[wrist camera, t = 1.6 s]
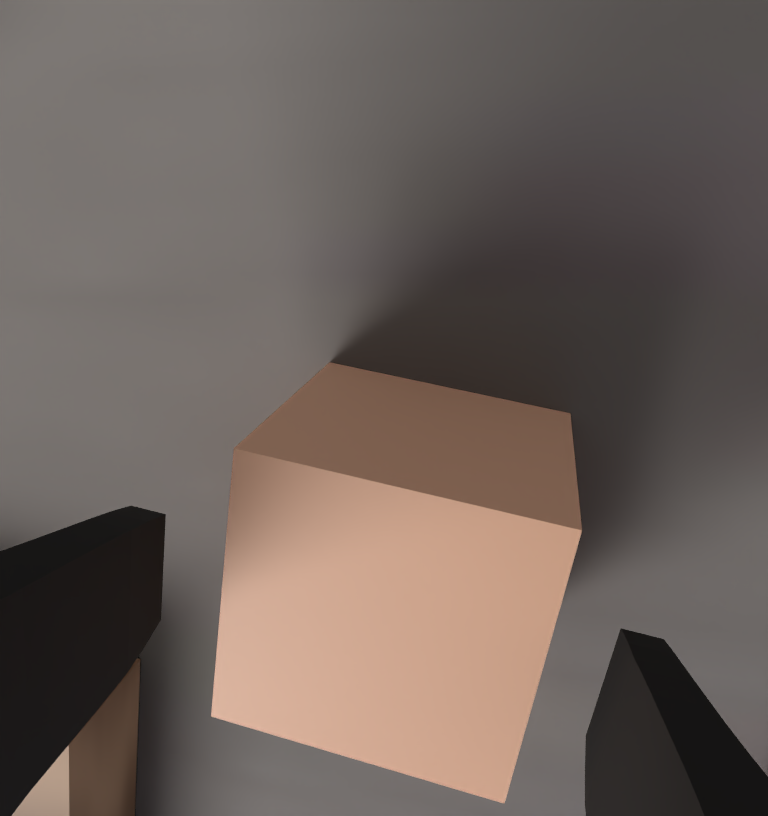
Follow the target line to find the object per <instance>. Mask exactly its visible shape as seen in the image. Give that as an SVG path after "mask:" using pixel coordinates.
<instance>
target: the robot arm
mask: <svg viewBox="0 0 768 816" xmlns="http://www.w3.org/2000/svg"><path fill="white" fill-rule="evenodd" d="M165 516H166V514H162V513H158V512H154V511H150V510H146V509H142V508H138V507H134V506H129V507H125V508H121V509H118V510H115V511H111V512H108V513H105V514H102V515H100V516H97V517H94V518H91V519H88V520H86V521H83V522H80V523H77V524H75V525H72V526H69V527H67V528H64V529H61V530H58V531H56V532H53V533H50V534H47V535H45V536H42V537H39V538H36V539H34V540H31V541H28V542H25V543H23V544H20V545H17V546H14V547H12V548H9V549H6V550H3V551H0V816H12V814H13V813H14V812H15V810H16V809H17V808H18V807H19V805H20V804H21V803H22V801H23V800H24V799H25V797H26V796H27V795H28V794H29V792H30V791H31V790H32V789H33V787H34V786H35V785H36V784H37V783H38V781H39V780H40V779H41V778H42V776H43V775H44V774H45V773H46V772H47V770H48V769H49V768H50V767H51V766H52V764H53V763H54V762H55V761H56V760H57V758H58V757H59V756H60V755H61V754H62V752H63V751H64V750H65V749H66V748H67V746H68V745H69V744H70V743H71V741H72V740H73V739H74V738H75V737H76V735H77V734H78V733H79V732H80V731H81V729H82V728H83V727H84V726H85V725H86V723H87V722H88V721H89V720H90V719H91V717H92V716H93V715H94V714H95V713H96V711H97V710H98V709H99V708H100V706H101V705H102V704H103V703H104V701H105V700H106V699H107V698H108V697H109V695H110V694H111V693H112V692H113V690H114V689H115V688H116V687H117V685H118V684H119V683H120V682H121V680H122V679H123V678H124V677H125V675H126V674H127V673H128V671H129V670H130V668H131V667H132V665H133V664H134V662H135V661H136V659H137V657H138V656H139V654H140V653H141V651H142V650H143V648H144V647H145V645H146V643H147V642H148V640H149V638H150V637H151V635H152V633H153V632H154V630H155V628H156V627H157V625H158V623H159V622H160V620H161V603H162V581H163V560H164V538H165ZM585 808H586V816H768V777H767V775H766V774H765V773H764V772H763V770H762V769H761V768H760V767H759V765H758V764H757V763H756V762H755V760H754V759H753V758H752V757H751V755H750V754H749V753H748V752H747V750H746V749H745V748H744V747H743V745H742V744H741V743H740V741H739V740H738V739H737V737H736V736H735V735H734V734H733V732H732V731H731V730H730V728H729V727H728V726H727V724H726V723H725V722H724V720H723V719H722V718H721V716H720V715H719V714H718V712H717V711H716V710H715V708H714V707H713V706H712V704H711V703H710V702H709V700H708V699H707V697H706V696H705V695H704V693H703V692H702V691H701V689H700V688H699V686H698V685H697V684H696V682H695V681H694V680H693V678H692V677H691V675H690V674H689V673H688V671H687V670H686V668H685V667H684V666H683V664H682V663H681V662H680V660H679V659H678V657H677V656H676V655H675V653H674V652H673V651H672V649H671V648H670V647H669V645H668V644H667V643H666V642H665V640H664V639H661V638H657V637H653V636H649V635H645V634H641V633H637V632H633V631H629V630H625V629H621V630H620V633H619V636H618V639H617V642H616V645H615V648H614V651H613V654H612V657H611V660H610V663H609V667H608V670H607V673H606V676H605V679H604V682H603V685H602V688H601V691H600V694H599V697H598V700H597V703H596V707H595V710H594V713H593V716H592V719H591V722H590V725H589V728H588V731H587V734H586V756H585Z"/></svg>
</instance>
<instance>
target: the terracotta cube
mask: <svg viewBox="0 0 768 816" xmlns="http://www.w3.org/2000/svg"><path fill="white" fill-rule="evenodd" d="M581 533H582V524H581V514H580V504H579V494H578V484H577V474H576V464H575V454H574V444H573V434H572V424H571V414H570V413H566V412H562V411H557V410H552V409H547V408H543V407H538V406H533V405H529V404H524V403H519V402H514V401H510V400H505V399H500V398H496V397H491V396H486V395H482V394H477V393H472V392H467V391H463V390H458V389H453V388H449V387H444V386H439V385H434V384H430V383H425V382H420V381H416V380H411V379H406V378H401V377H397V376H392V375H387V374H383V373H378V372H373V371H369V370H364V369H359V368H354V367H350V366H345V365H340V364H336V363H331V362H329V363H328V364H327V365H326V366H325V367H324V368H323V369H322V370H321V371H319V372H318V373H317V374H316V375H315V376H314V377H313V378H312V379H311V380H309V381H308V382H307V383H306V384H305V385H304V386H303V387H302V388H300V389H299V390H298V391H297V392H296V393H295V394H294V395H293V396H292V397H290V398H289V399H288V400H287V401H286V402H285V403H284V404H283V405H282V406H280V407H279V408H278V409H277V410H276V411H275V412H274V413H273V414H272V415H270V416H269V417H268V418H267V419H266V420H265V421H264V422H263V423H262V424H260V425H259V426H258V427H257V428H256V429H255V430H254V431H253V432H252V433H250V434H249V435H248V436H247V437H246V438H245V439H244V440H243V441H242V442H240V443H239V444H238V445H237V446H236V447H235V448H234V453H233V465H232V477H231V488H230V500H229V512H228V524H227V536H226V547H225V559H224V571H223V583H222V595H221V606H220V618H219V630H218V642H217V654H216V666H215V677H214V689H213V701H212V713H211V717H215V718H218V719H221V720H225V721H228V722H232V723H235V724H238V725H242V726H245V727H248V728H252V729H255V730H258V731H262V732H265V733H269V734H272V735H275V736H279V737H282V738H285V739H289V740H292V741H295V742H299V743H302V744H306V745H309V746H312V747H316V748H319V749H322V750H326V751H329V752H332V753H336V754H339V755H343V756H346V757H349V758H353V759H356V760H359V761H363V762H366V763H370V764H373V765H376V766H380V767H383V768H386V769H390V770H393V771H396V772H400V773H403V774H407V775H410V776H413V777H417V778H420V779H423V780H427V781H430V782H433V783H437V784H440V785H444V786H447V787H450V788H454V789H457V790H460V791H464V792H467V793H470V794H474V795H477V796H481V797H484V798H487V799H491V800H494V801H497V802H501V803H505V800H506V796H507V793H508V789H509V786H510V782H511V779H512V775H513V772H514V768H515V764H516V761H517V757H518V754H519V750H520V747H521V743H522V740H523V736H524V733H525V729H526V726H527V722H528V719H529V715H530V712H531V708H532V705H533V701H534V698H535V694H536V691H537V687H538V684H539V680H540V677H541V673H542V670H543V666H544V663H545V659H546V656H547V652H548V649H549V645H550V642H551V638H552V635H553V631H554V628H555V624H556V620H557V617H558V613H559V610H560V606H561V603H562V599H563V596H564V592H565V589H566V585H567V582H568V578H569V575H570V571H571V568H572V564H573V561H574V557H575V554H576V550H577V547H578V543H579V540H580V536H581Z"/></svg>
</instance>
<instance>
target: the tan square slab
mask: <svg viewBox="0 0 768 816" xmlns="http://www.w3.org/2000/svg"><path fill="white" fill-rule="evenodd" d="M139 684H140V659H138V658H137V659H136V661H135V662H134V664H133V665H132V667H131V668H130V670H129V671H128V673H127V674H126V675H125V677H124V678H123V679H122V680H121V682H120V683H119V684H118V685H117V687H116V688H115V689H114V690H113V692H112V693H111V694H110V695H109V697H108V698H107V699H106V700H105V701H104V703H103V704H102V705H101V706H100V708H99V709H98V710H97V711H96V713H95V714H94V715H93V716H92V717H91V719H90V720H89V721H88V722H87V723H86V725H85V726H84V727H83V728H82V729H81V731H80V732H79V733H78V734H77V735H76V737H75V738H74V739H73V740H72V741H71V743H70V744H69V745H68V746H67V748H66V749H65V750H64V751H63V752H62V754H61V755H60V756H59V757H58V758H57V760H56V761H55V762H54V763H53V764H52V766H51V767H50V768H49V769H48V770H47V772H46V773H45V774H44V775H43V776H42V778H41V779H40V780H39V781H38V783H37V784H36V785H35V786H34V787H33V789H32V790H31V791H30V792H29V794H28V795H27V796H26V797H25V799H24V800H23V801H22V803H21V804H20V805H19V807H18V808H17V809H16V810H15V812H14V813H13V814H12V816H135V795H136V767H137V740H138V712H139Z"/></svg>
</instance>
